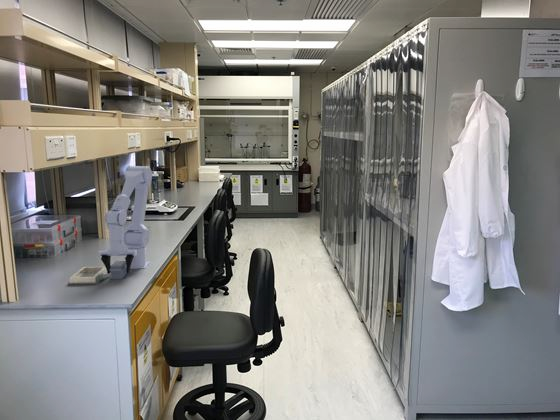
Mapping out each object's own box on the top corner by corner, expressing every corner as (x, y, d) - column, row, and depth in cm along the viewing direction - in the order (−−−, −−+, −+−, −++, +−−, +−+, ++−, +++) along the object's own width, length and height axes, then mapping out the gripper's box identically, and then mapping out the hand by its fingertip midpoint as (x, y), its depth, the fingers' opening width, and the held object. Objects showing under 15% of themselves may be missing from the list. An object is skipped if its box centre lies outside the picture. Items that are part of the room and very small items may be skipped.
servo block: (117, 272, 184) (116, 260, 183) (127, 272, 184) (126, 259, 183) (110, 280, 174) (109, 267, 173) (120, 280, 174) (119, 266, 174)
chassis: (82, 272, 183) (81, 266, 183) (111, 272, 184) (110, 266, 184) (67, 284, 169) (67, 278, 168) (99, 284, 170) (98, 277, 169)
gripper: (94, 242, 172) (97, 276, 175) (132, 242, 173) (134, 275, 176) (100, 238, 179) (102, 270, 181) (137, 238, 180) (138, 270, 183)
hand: (118, 272), depth 179 cm, fingers open, 7 cm apart
